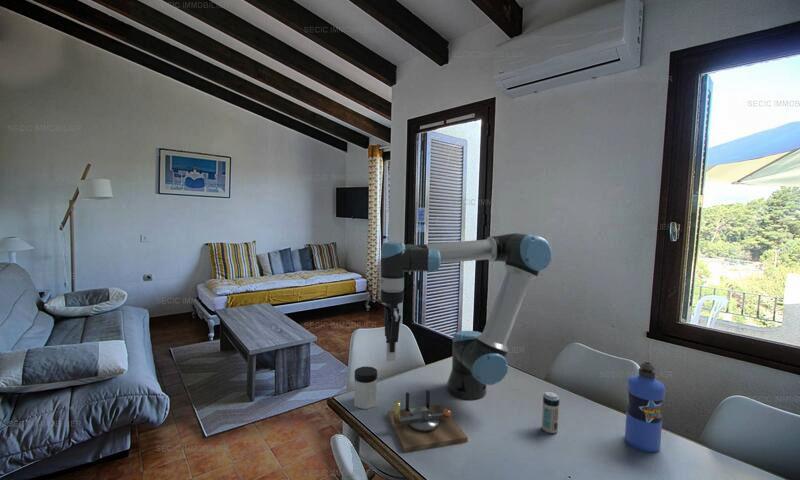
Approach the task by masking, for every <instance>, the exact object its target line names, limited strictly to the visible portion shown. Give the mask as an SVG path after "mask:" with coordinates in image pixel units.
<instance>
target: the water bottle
mask: <svg viewBox="0 0 800 480" xmlns="http://www.w3.org/2000/svg"><path fill="white" fill-rule="evenodd" d="M655 370H656V368H655V367H654V365H653V364H652V363H650V362H647V361H645V362H643V363H641V364H639V368H638V371H637V372H638V375H633V376H632V375H631V376H629V377H628V378H627V391H628V392H627V393H628V404H627V409H626V413H625V414H626V415H625V426H624V427H625V428H624V429H625V431H624V432H625V433H624V441H625V442H626V443H627V444H628V446H629V445H630V447H632V448H634V449H635V450H638V451H640V452H644V453H651V454H652V453H653V454H654V453H659V452H660V450H661V443H662V441H661V440H662V429H663V417H662V409H663V408H662V407H663V403H664V400H665V395H666V385H664V384H663V383H662V382H660V381H659V380H657V379H655V378H656V371H655Z"/></svg>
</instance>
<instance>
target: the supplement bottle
mask: <svg viewBox="0 0 800 480" xmlns="http://www.w3.org/2000/svg"><path fill="white" fill-rule="evenodd" d="M542 399H543V400H542V414H541V415H542V418H541V429H542V430H543V431H545V432H546V433H548V434H556V433H558V431H559V418H560V417H559V415H560V400H561V399H560V396H559V393H557V392H555V391H552V390H547V391H545V392H544V394H543V398H542Z"/></svg>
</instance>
